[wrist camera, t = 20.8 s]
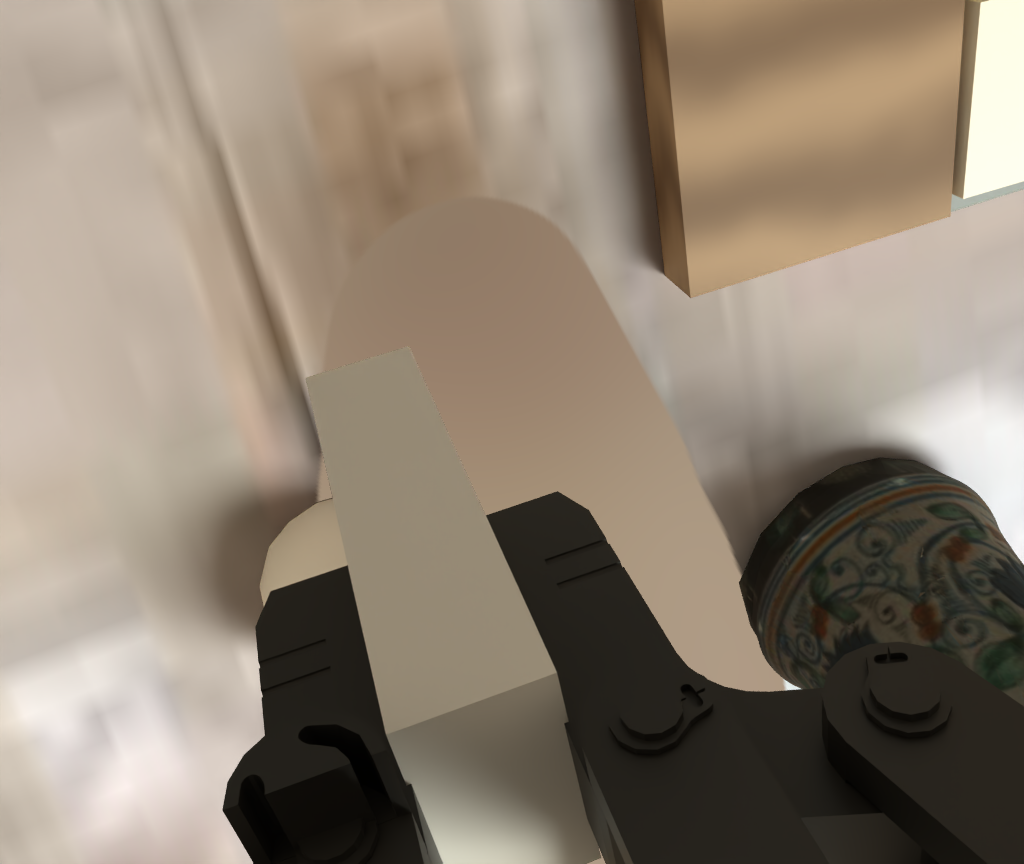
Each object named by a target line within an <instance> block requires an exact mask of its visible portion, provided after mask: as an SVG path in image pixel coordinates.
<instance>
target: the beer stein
mask: <svg viewBox="0 0 1024 864" xmlns="http://www.w3.org/2000/svg"><path fill="white" fill-rule="evenodd" d="M739 585H740V589H741V592H742V596H743V600H744V603H745V607H746V611H747V614H748V618H749V622H750V625H751V627H752V629H753V631H754V632H755V634H756V635H757V638H758V641H759V644H760V648H761V650H762V653H763V655H764V656H765V659H766V660H767V662H768V663H769V665H770V666H771V667H772V668H773V669H774V670H775V671H776V672H777V673H778V674H779V675H780V676H781V677H782V678H783V679H785V680H786V681H788V682H789V683H791V684H792V685H795V686H797V687H799V688H801V689H813V688H823V687H824V683H825V680H826V676H827V672H828V671H829V670H830V669H831V668H832V667H833V666H834V665H835V664H836V663H837V662H838V661H839V660H840V659H841V658H842V657H843V656H844V655H845V654H847V653H849V652H852V651H854V650H857V649H859V648H861V647H864V646H866V645H869V644H876V643H888V642H905V643H910V644H915V645H920V646H925V647H930V648H933V649H935V650H937V651H939V652H941V653H943V654H945V655H947V656H949V657H951V658H953V659H955V660H957V661H959V662H961V663H962V664H964V665H965V666H966V667H968V668H969V669H971V670H972V671H974V672H975V673H977V674H978V675H979V676H981V677H982V678H984V679H985V680H987V681H988V682H989V683H991V684H992V685H994V686H995V687H997V688H998V689H1000V690H1001V691H1002V692H1004V693H1005V694H1007V695H1008V696H1010V697H1011V698H1013V699H1014V700H1015V701H1017V702H1018V703H1020V704H1021V705H1023V706H1024V565H1023V563H1022V562H1021V561H1020V559H1019V558H1018V557H1017V555H1016V554H1015V553H1014V551H1013V550H1012V548H1011V547H1010V545H1009V544H1008V542H1007V541H1006V540H1005V538H1004V537H1003V535H1002V533H1001V532H1000V530H999V528H998V525H997V522H996V520H995V518H994V516H993V514H992V512H991V510H990V509H989V507H988V506H987V505H986V503H985V502H984V501H983V500H982V498H981V497H980V496H979V495H978V494H977V493H976V492H975V491H973V490H972V489H971V488H970V487H968V486H967V485H965V484H963V483H962V482H960V481H958V480H955V479H953V478H951V477H949V476H946V475H944V474H942V473H940V472H938V471H936V470H934V469H932V468H930V467H928V466H926V465H924V464H921V463H919V462H917V461H914V460H902V459H890V458H876V459H872V460H868V461H864V462H860V463H856V464H852V465H848V466H844V467H842V468H840V469H838V470H837V471H835V472H833V473H832V474H830V475H828V476H827V477H825V478H823V479H822V480H820V481H818V482H817V483H815V484H813V485H812V486H810V487H808V488H807V489H805V490H803V491H802V492H800V493H798V494H797V495H796V497H795V498H794V499H793V500H792V501H791V502H790V503H789V504H788V505H787V506H786V507H785V508H784V510H783V511H782V512H781V513H780V514H779V515H778V516H777V517H776V518H775V519H774V520H773V521H772V523H771V524H770V525H769V526H768V527H767V528H766V529H765V530H764V531H763V532H762V533H761V535H760V537H759V539H758V541H757V544H756V546H755V548H754V550H753V553H752V555H751V557H750V559H749V562H748V564H747V566H746V568H745V571H744V573H743V575H742V577H741V580H740V582H739Z"/></svg>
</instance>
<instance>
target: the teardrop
mask: <svg viewBox="0 0 1024 864" xmlns="http://www.w3.org/2000/svg"><path fill="white" fill-rule="evenodd" d="M347 565H348V564H347V560H346V555H345V551H344V546H343V542H342V538H341V533H340V529H339V524H338V520H337V515H336V511H335V507H334V502H333V498H330V499H326V500H322V501H319V502H318V503H316V504H315V505H313V506H312V507H310V508H309V509H307V510H306V511H304V512H303V513H301V514H300V515H298V516H297V517H296V518H294V519H293V520H291V521H290V522H288V524H287V525H286V526H285V527H284V529H283V530H282V531H281V532H280V534H279V535H278V536H277V537H276V539H275V540H274V541H273V543H272V544H271V545H270V546H269V549H268V553H267V557H266V561H265V565H264V569H263V573H262V577H261V582H260V586H259V587H260V591H261V596H262V601H263V605H264V606H265V603H266V601H267V599H268V596H269V594H270V591H273V590H276V589H279V588H282V587H284V586H287V585H290V584H293V583H296V582H299V581H302V580H305V579H308V578H311V577H314V576H317V575H320V574H323V573H326V572H329V571H332V570H335V569H338V568H341V567H344V566H347Z"/></svg>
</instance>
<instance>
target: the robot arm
mask: <svg viewBox="0 0 1024 864" xmlns="http://www.w3.org/2000/svg"><path fill="white" fill-rule="evenodd" d="M306 383H307V387H308V391H309V396H310V400H311V405H312V409H313V414H314V418H315V422H316V427H317V431H318V436H319V440H320V445H321V449H322V453H323V458H324V462H325V467H326V471H327V475H328V479H329V484H330V489H331V493H332V498H333V502H334V507H335V511H336V515H337V520H338V524H339V529H340V533H341V538H342V542H343V546H344V551H345V555H346V560H347V564H348V565H347V566H344V567H341V568H338V569H335V570H332V571H329V572H326V573H323V574H320V575H317V576H314V577H311V578H308V579H305V580H302V581H299V582H296V583H293V584H290V585H287V586H284V587H282V588H279V589H276V590H273V591H270V594H269V596H268V599H267V601H266V603H265V606H264V608H263V610H262V613H261V615H260V618H259V620H258V622H257V625H256V638H257V650H258V661H259V664H260V668H259V673H260V684H261V691H262V695H263V697H262V707H263V718H264V730H265V736H264V737H263V738H262V739H261V740H260V741H259V742H258V743H257V744H255V745H254V746H253V747H252V748H251V749H250V750H249V751H248V752H247V753H246V754H245V755H244V756H243V757H242V759H241V761H240V762H239V764H238V766H237V767H236V769H235V771H234V772H233V774H232V776H231V777H230V779H229V781H228V783H227V789H226V794H225V800H224V805H223V812H224V814H225V815H226V817H227V819H228V820H229V822H230V824H231V825H232V827H233V829H234V831H235V832H236V834H237V836H238V837H239V839H240V841H241V842H242V844H243V846H244V848H245V849H246V851H247V853H248V854H249V856H250V858H251V859H252V861H253V864H587V863H589V862H592V861H594V860H597V859H599V858H601V855H600V851H601V853H602V856H603V858H604V860H605V863H606V864H1024V706H1023V705H1021V704H1020V703H1018V702H1017V701H1015V700H1014V699H1013V698H1011V697H1010V696H1008V695H1007V694H1005V693H1004V692H1002V691H1001V690H1000V689H998V688H997V687H995V686H994V685H992V684H991V683H989V682H988V681H987V680H985V679H984V678H982V677H981V676H979V675H978V674H977V673H975V672H974V671H972V670H971V669H969V668H968V667H966V666H965V665H964V664H962V663H961V662H959V661H957V660H955V659H953V658H951V657H949V656H947V655H945V654H943V653H941V652H939V651H937V650H935V649H933V648H930V647H925V646H920V645H915V644H910V643H905V642H888V643H876V644H869V645H866V646H864V647H861V648H859V649H857V650H854V651H852V652H849V653H847V654H845V655H844V656H843V657H842V658H841V659H840V660H839V661H838V662H837V663H836V664H835V665H834V666H833V667H832V668H831V669H830V670H829V671H828V672H827V676H826V680H825V683H824V687H823V688H813V689H800V690H787V691H774V692H754V691H753V692H751V691H742V690H738V689H733V688H728V687H724V686H721V685H719V684H717V683H714V682H712V681H710V680H707V679H706V678H705V677H704V676H702V675H700V674H698V673H696V672H695V671H693V670H692V669H691V668H689V667H688V666H687V665H686V664H685V662H684V661H683V660H682V659H681V658H680V656H679V655H678V654H677V653H676V651H675V650H674V648H673V646H672V645H671V643H670V641H669V640H668V638H667V637H666V635H665V633H664V632H663V630H662V629H661V627H660V625H659V624H658V622H657V620H656V619H655V617H654V615H653V614H652V612H651V611H650V609H649V607H648V606H647V604H646V603H645V601H644V599H643V598H642V596H641V594H640V593H639V591H638V589H637V588H636V586H635V585H634V583H633V581H632V580H631V578H630V576H629V575H628V573H627V572H626V570H625V568H624V567H623V568H622V566H621V563H620V560H619V559H618V557H617V555H616V554H615V552H614V551H613V549H612V547H611V546H610V544H608V543H607V540H606V537H605V536H604V534H603V533H602V531H601V529H600V528H599V526H598V524H597V523H596V521H595V520H594V518H593V516H592V515H591V513H590V511H589V510H587V509H586V508H584V507H583V506H581V505H579V504H578V503H576V502H574V501H572V500H571V499H569V498H568V497H566V496H564V495H563V494H561V493H559V492H554V493H552V494H548V495H545V496H542V497H540V498H537V499H534V500H531V501H528V502H525V503H522V504H519V505H516V506H513V507H510V508H507V509H504V510H501V511H498V512H495V513H492V514H489V515H485V513H484V510H483V508H482V506H481V504H480V502H479V499H478V497H477V495H476V493H475V491H474V488H473V486H472V484H471V482H470V480H469V477H468V475H467V473H466V471H465V469H464V467H463V464H462V462H461V460H460V458H459V455H458V453H457V451H456V449H455V447H454V444H453V442H452V440H451V438H450V435H449V433H448V431H447V429H446V427H445V424H444V422H443V420H442V418H441V416H440V413H439V411H438V409H437V407H436V405H435V402H434V400H433V398H432V396H431V394H430V391H429V389H428V387H427V385H426V383H425V381H424V378H423V376H422V374H421V371H420V369H419V367H418V365H417V363H416V360H415V358H414V356H413V354H412V352H411V349H410V347H409V346H407V347H404V348H401V349H398V350H394V351H391V352H388V353H385V354H381V355H378V356H375V357H372V358H369V359H365V360H362V361H359V362H356V363H352V364H349V365H346V366H343V367H339V368H336V369H333V370H330V371H326V372H323V373H320V374H317V375H313V376H310V377H307V378H306ZM598 846H599V847H598ZM599 848H600V851H599Z"/></svg>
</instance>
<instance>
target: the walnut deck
mask: <svg viewBox="0 0 1024 864" xmlns="http://www.w3.org/2000/svg"><path fill="white" fill-rule="evenodd" d="M634 1H635V10H636V19H637V29H638V38H639V47H640V56H641V65H642V74H643V83H644V92H645V101H646V110H647V119H648V128H649V137H650V146H651V155H652V164H653V173H654V182H655V191H656V200H657V209H658V218H659V227H660V237H661V246H662V255H663V264H664V273H665V276H666V277H667V278H668V279H670V280H671V281H672V282H673V283H674V284H675V285H676V286H678V287H679V288H680V289H681V290H682V291H683V292H684V293H686V294H687V295H688V296H689V297H690V298H692V297H695V296H699V295H702V294H705V293H708V292H711V291H714V290H718V289H721V288H724V287H727V286H730V285H734V284H737V283H740V282H743V281H746V280H749V279H753V278H756V277H759V276H762V275H765V274H769V273H772V272H775V271H778V270H781V269H784V268H788V267H791V266H794V265H797V264H800V263H803V262H807V261H810V260H813V259H816V258H819V257H823V256H826V255H829V254H832V253H835V252H838V251H842V250H845V249H848V248H851V247H854V246H858V245H861V244H864V243H867V242H870V241H873V240H877V239H880V238H883V237H886V236H889V235H893V234H896V233H899V232H902V231H905V230H908V229H912V228H915V227H918V226H921V225H924V224H928V223H931V222H934V221H937V220H940V219H943V218H947V217H950V215H951V200H952V186H953V171H954V156H955V141H956V126H957V111H958V97H959V82H960V67H961V52H962V37H963V23H964V8H965V0H634Z"/></svg>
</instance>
